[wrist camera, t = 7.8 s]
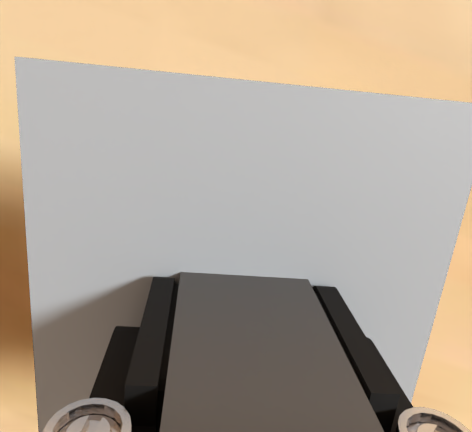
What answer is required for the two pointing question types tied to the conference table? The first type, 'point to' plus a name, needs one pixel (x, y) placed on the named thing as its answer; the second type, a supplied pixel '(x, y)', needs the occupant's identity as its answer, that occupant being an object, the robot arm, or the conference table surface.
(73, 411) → the robot arm
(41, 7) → the conference table surface
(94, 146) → the lid
